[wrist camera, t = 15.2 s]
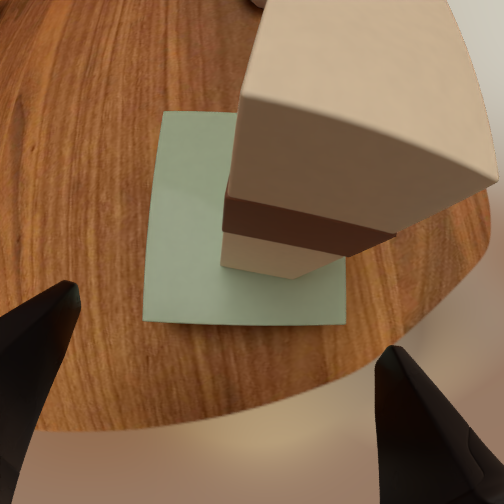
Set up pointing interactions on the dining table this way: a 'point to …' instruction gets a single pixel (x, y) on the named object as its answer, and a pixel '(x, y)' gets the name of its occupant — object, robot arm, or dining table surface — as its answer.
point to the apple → (259, 3)
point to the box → (216, 242)
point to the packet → (350, 131)
